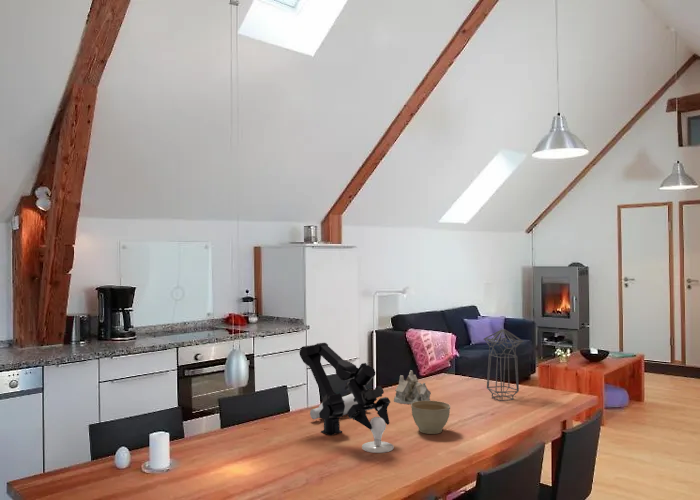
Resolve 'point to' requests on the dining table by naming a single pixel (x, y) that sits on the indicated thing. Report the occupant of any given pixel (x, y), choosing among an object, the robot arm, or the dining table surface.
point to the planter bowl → (430, 415)
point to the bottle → (348, 404)
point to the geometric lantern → (504, 361)
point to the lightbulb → (377, 429)
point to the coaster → (377, 447)
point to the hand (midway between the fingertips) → (380, 426)
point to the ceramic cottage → (411, 390)
